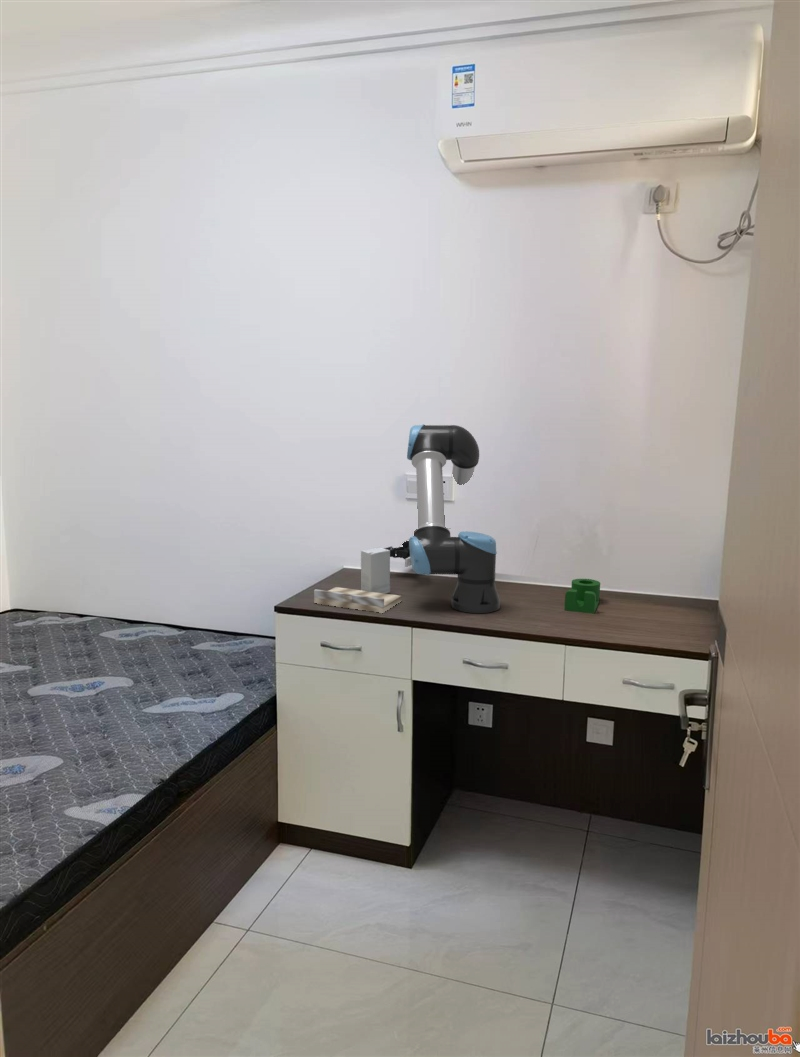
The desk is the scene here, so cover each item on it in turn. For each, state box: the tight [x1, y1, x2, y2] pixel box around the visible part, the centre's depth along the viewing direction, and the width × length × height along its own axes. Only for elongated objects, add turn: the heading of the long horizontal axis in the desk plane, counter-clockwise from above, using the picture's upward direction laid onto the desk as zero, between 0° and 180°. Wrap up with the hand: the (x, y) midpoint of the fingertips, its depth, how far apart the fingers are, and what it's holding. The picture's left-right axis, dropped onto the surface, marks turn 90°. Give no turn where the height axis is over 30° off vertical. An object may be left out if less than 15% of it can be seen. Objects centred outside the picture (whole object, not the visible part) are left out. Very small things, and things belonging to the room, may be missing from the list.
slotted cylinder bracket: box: [564, 578, 601, 615], centre depth 243 cm, size 18×9×6 cm, turn 159°
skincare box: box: [360, 546, 391, 594], centre depth 252 cm, size 8×6×15 cm
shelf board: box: [313, 586, 403, 614], centre depth 242 cm, size 24×14×4 cm, turn 66°
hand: (387, 560), depth 260 cm, fingers open, 13 cm apart
